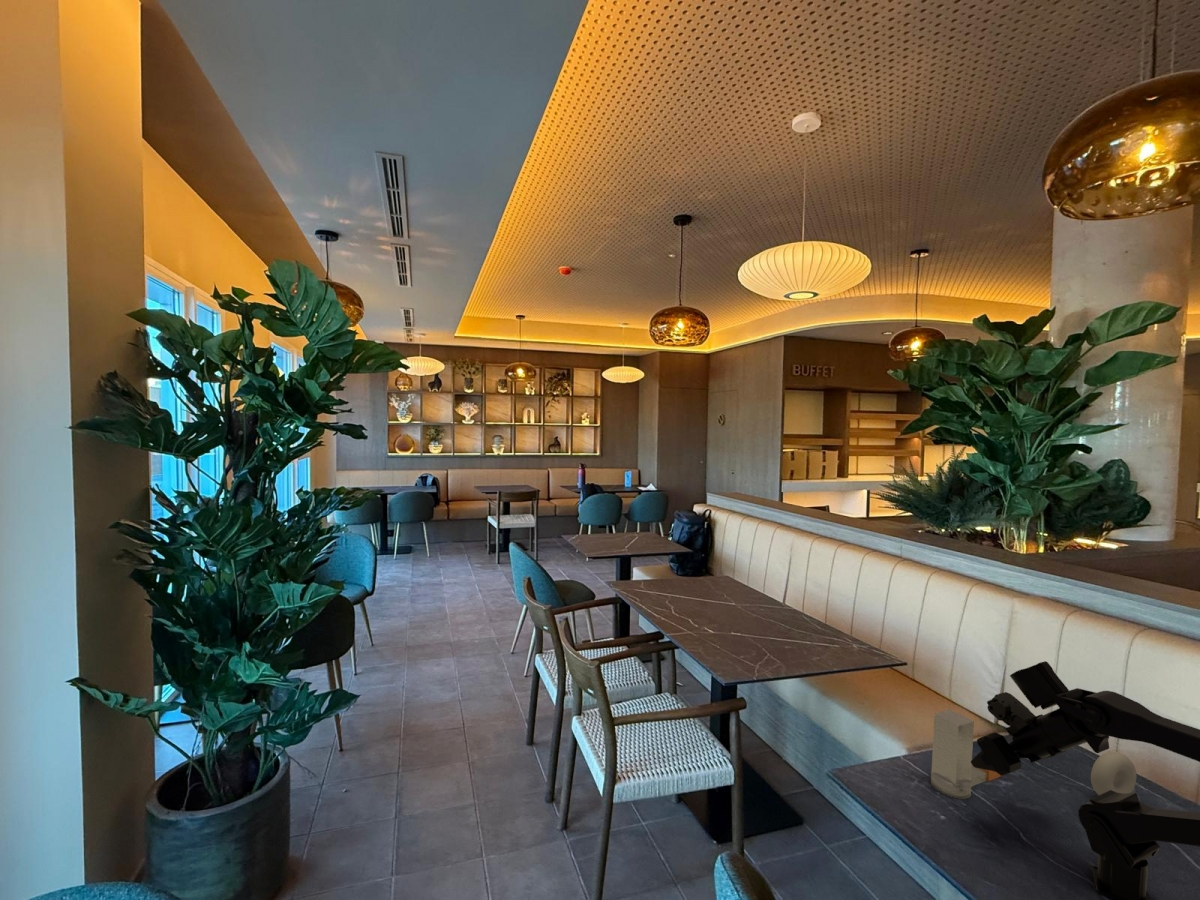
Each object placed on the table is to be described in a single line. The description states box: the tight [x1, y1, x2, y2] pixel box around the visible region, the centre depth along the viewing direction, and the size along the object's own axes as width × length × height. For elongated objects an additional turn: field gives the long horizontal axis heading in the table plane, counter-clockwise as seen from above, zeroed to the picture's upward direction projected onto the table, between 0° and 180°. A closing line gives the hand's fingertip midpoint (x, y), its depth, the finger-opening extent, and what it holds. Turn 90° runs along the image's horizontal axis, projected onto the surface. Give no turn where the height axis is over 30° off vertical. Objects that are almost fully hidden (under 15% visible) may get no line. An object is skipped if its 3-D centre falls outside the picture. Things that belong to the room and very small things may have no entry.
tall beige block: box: [931, 709, 975, 786], centre depth 113 cm, size 5×5×12 cm
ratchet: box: [930, 765, 1004, 800], centre depth 117 cm, size 22×7×5 cm, turn 115°
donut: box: [1090, 750, 1137, 796], centre depth 111 cm, size 10×4×10 cm, turn 105°
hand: (987, 759), depth 107 cm, fingers open, 9 cm apart
